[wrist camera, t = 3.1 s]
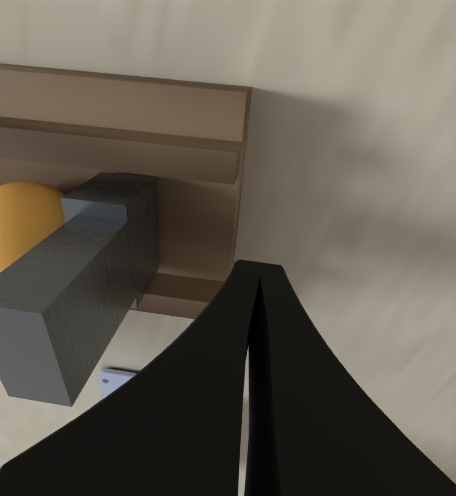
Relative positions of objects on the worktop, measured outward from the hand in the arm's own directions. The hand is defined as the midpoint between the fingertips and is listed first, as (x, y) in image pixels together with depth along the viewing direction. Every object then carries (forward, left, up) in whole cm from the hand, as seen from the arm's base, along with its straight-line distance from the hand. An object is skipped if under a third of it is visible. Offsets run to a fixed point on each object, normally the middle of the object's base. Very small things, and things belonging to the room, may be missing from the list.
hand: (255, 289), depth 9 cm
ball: (0, +8, -2) cm, 8 cm away
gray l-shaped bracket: (0, +5, -3) cm, 6 cm away
